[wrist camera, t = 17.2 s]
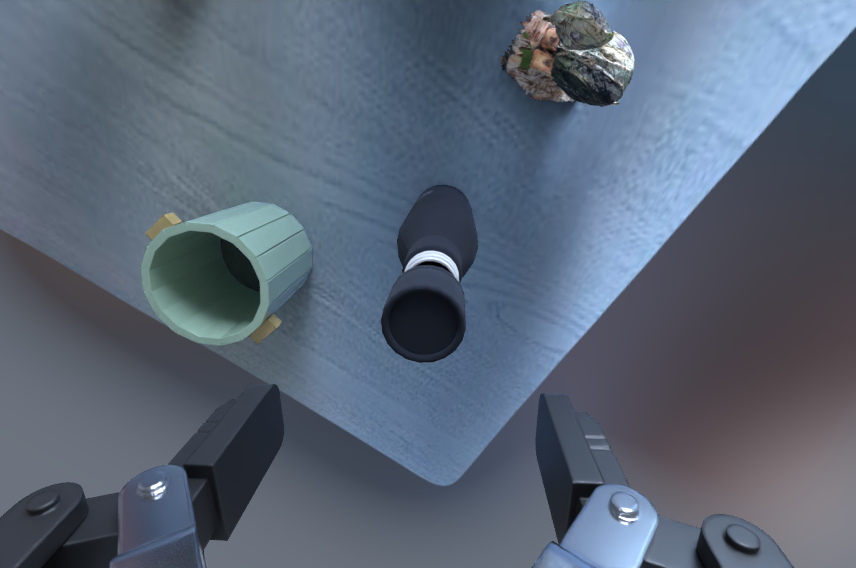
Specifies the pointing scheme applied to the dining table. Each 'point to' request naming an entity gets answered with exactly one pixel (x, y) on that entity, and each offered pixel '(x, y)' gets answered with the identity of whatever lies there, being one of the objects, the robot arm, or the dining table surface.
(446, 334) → the wine bottle
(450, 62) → the dining table surface
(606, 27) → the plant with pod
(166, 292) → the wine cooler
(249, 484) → the robot arm
